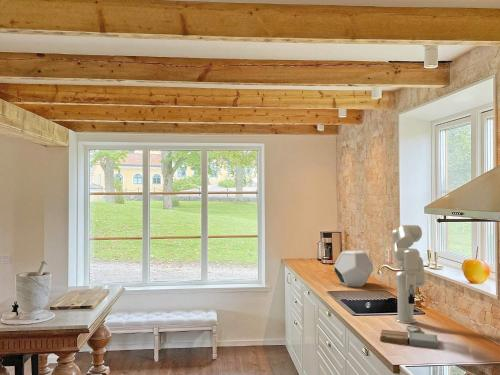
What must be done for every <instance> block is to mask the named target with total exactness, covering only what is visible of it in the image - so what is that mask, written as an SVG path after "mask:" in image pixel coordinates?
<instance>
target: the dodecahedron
mask: <svg viewBox="0 0 500 375" xmlns="http://www.w3.org/2000/svg"><path fill="white" fill-rule="evenodd" d="M373 269H374V264H373V262H372V260H371V259H370V257H369V255H368V254H367V253H366V252H365V251H364V250H359V249H345V250H343V251H341V252H340V254H339V255H338V258H337V259H336V261H335V263H334V265H333V272H334V275H335V276H336V277H337V279H338V280H339V283H341V284H342V285H344V286H345V287H354V288H355V287H356V288H357V287H358V288H359V287H360V288H362V287H364V285H366V283H367V281H369V277H370V276H371V274H372V273H373Z"/></svg>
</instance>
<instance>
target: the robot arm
mask: <svg viewBox="0 0 500 375" xmlns="http://www.w3.org/2000/svg"><path fill="white" fill-rule="evenodd" d="M422 230H423V229H422V228H421V226H419V225H416V224H412V225H411V224H408V225H407V224H403V225H400V226H399V227H398V228H396V229H394V230H392V231H391V240H392V243H393V248H392V249H393V256H394V257H393V258H394V259H395V260H396V265H397V268H398V269H399V270H400V271H397V272H396V274H395V282H396V289H397V293H396V294H397V295H396V296H397V300H396V301H397V316H396V317H395V318H394V321H396V323H397V322H398V323H400V324H401V323H402V324H415V323H416V322H417V319H416V318H414V305H415V303H416V302H415V301H416V300H415V293H416V289H417V288H419V287H420V288H421V287H424V286H425V284H426V276H425V269H424V268H425V266H424V265H425V264H424V260H423V258H422V257H421V254H420V253H421V252H420V251H419V250H418V249H417V248H411V247H412V246H413V245H414V242H415V243H417V242H419V241H420V240H421V239H422V235H423V231H422Z"/></svg>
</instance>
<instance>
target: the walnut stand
mask: <svg viewBox="0 0 500 375" xmlns="http://www.w3.org/2000/svg"><path fill="white" fill-rule="evenodd" d="M379 342H382V343H383V342H385V343H391V344H397V345H405V346H408V343H409V331H400V330H389V329H381V332H380V337H379Z"/></svg>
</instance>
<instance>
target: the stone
mask: <svg viewBox="0 0 500 375" xmlns="http://www.w3.org/2000/svg"><path fill="white" fill-rule="evenodd" d="M405 329H406V330H407V332H409V333H410V332H411V333H422V334H426V333H425V331H424V330H422V328H420V327H419V326H416V325H413V326H412V325H407V326H406V327H405Z"/></svg>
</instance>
